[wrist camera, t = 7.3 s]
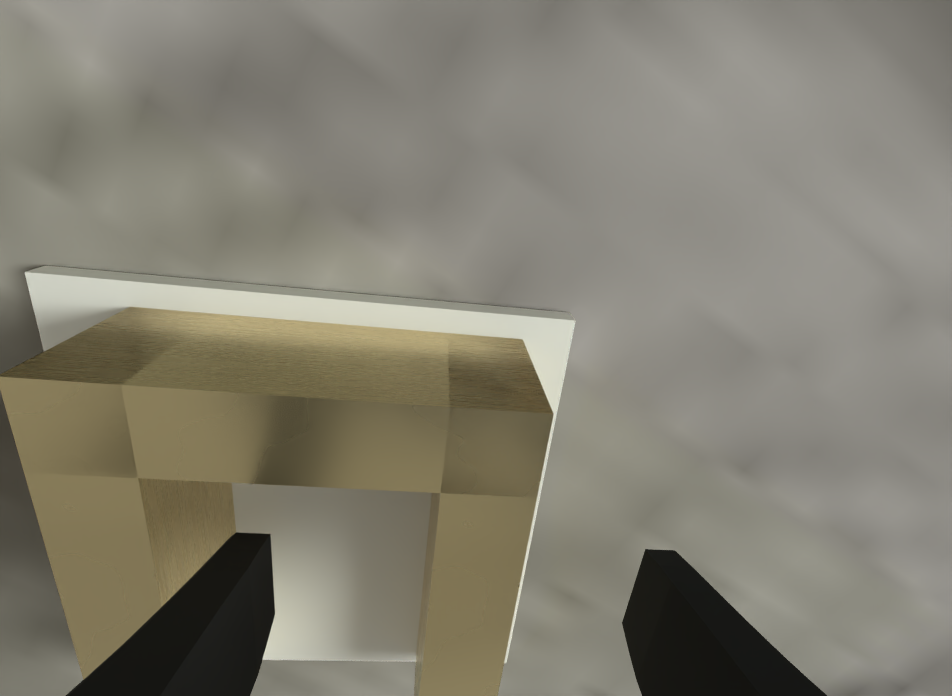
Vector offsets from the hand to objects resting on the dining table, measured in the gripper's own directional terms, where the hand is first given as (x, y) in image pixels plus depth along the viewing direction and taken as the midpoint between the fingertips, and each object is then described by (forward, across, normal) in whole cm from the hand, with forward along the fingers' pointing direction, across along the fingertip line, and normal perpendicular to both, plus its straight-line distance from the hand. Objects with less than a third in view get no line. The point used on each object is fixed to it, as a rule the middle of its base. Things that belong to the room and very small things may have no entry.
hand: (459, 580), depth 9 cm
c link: (+4, +3, +2) cm, 5 cm away
